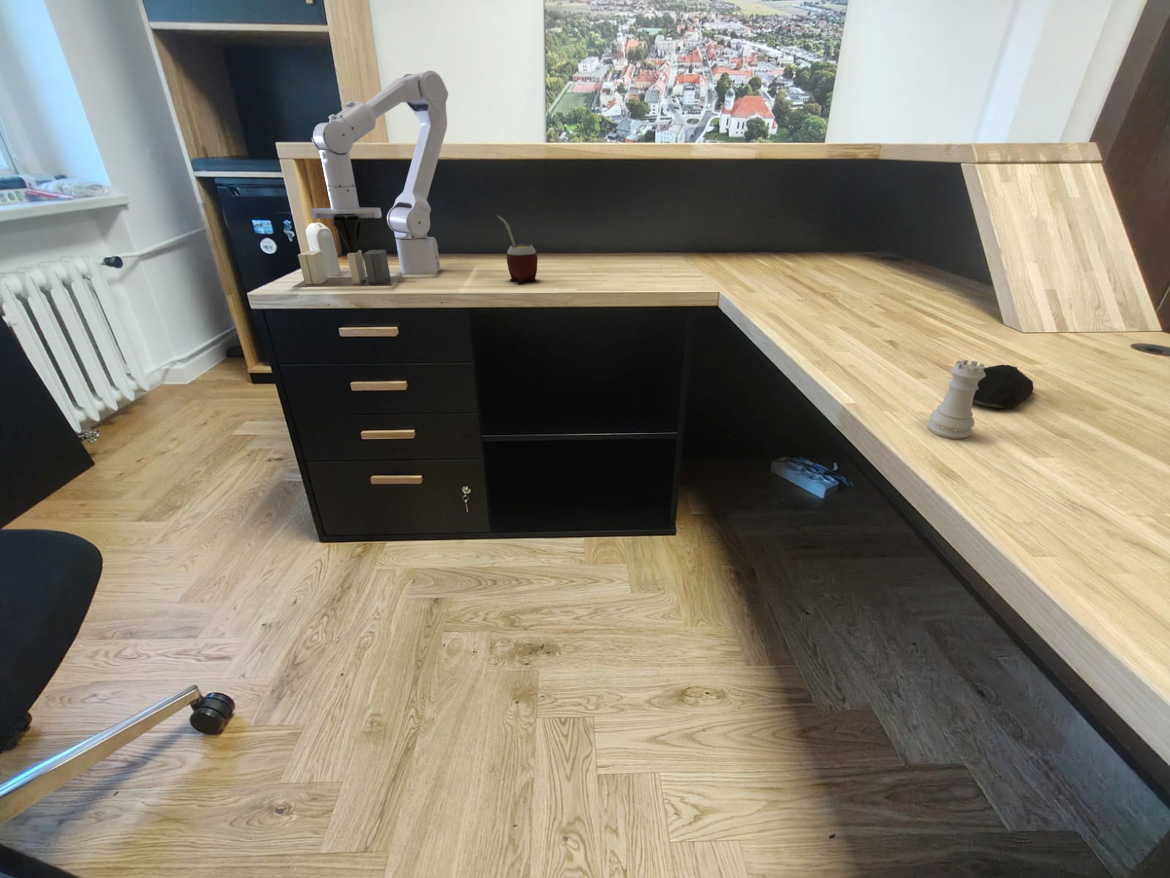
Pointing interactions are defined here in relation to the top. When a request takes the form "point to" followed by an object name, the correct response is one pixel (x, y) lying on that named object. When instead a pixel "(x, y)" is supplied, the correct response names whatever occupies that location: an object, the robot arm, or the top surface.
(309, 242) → the photo printer
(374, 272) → the grey books
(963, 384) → the rook chess piece
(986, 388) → the gaming mouse
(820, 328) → the top surface
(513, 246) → the mate gourd
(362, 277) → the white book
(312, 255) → the beige books
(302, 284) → the shelf board
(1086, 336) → the top surface
